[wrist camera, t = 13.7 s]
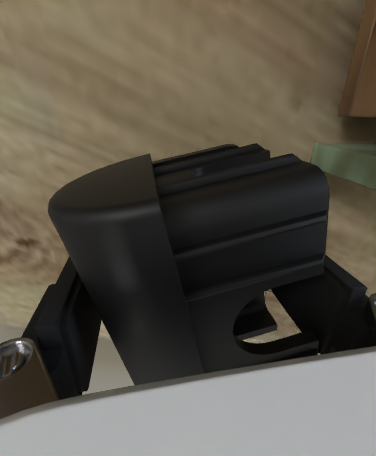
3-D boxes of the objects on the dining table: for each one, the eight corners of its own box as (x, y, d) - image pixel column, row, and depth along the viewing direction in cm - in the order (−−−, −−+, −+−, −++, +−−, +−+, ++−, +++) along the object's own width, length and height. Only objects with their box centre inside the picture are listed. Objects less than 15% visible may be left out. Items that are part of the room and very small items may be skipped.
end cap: (78, 166, 10) (-7, 242, 4) (237, 129, 11) (355, 153, 5) (143, 327, 15) (144, 473, 9) (253, 296, 15) (325, 415, 9)
